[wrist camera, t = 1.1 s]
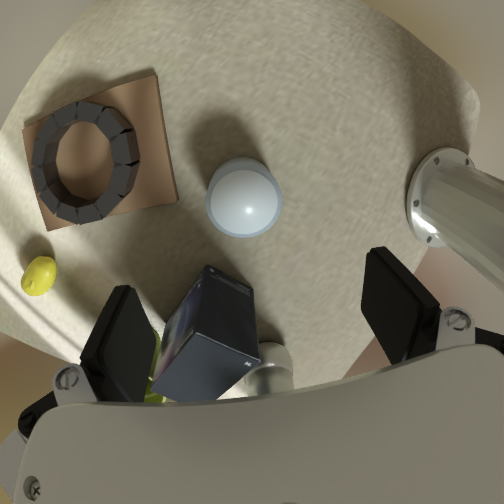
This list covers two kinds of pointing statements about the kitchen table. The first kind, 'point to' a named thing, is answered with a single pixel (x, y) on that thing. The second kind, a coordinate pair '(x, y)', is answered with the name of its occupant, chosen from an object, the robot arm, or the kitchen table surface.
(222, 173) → the cap
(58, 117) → the segmented ring
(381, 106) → the kitchen table surface
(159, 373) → the small box
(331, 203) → the kitchen table surface
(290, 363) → the plastic bottle
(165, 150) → the board
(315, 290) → the kitchen table surface
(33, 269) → the lemon
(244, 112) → the kitchen table surface
